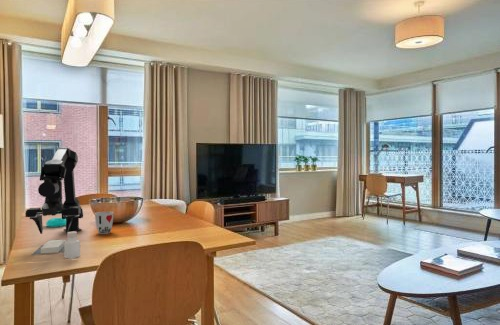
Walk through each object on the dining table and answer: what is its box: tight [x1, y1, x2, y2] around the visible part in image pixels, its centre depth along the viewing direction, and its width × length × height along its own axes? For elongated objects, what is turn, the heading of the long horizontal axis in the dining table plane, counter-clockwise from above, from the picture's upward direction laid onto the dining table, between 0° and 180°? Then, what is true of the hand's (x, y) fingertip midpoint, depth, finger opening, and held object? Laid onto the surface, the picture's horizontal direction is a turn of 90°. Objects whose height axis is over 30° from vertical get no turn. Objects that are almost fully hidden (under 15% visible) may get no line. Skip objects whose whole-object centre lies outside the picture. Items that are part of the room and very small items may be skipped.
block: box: [40, 239, 66, 255], centre depth 139 cm, size 2×6×12 cm
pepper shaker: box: [64, 231, 81, 260], centre depth 129 cm, size 4×4×10 cm
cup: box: [94, 211, 114, 235], centre depth 168 cm, size 8×8×10 cm
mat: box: [31, 244, 65, 256], centre depth 140 cm, size 14×12×1 cm
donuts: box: [45, 211, 66, 228], centre depth 186 cm, size 10×10×10 cm
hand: (54, 233), depth 141 cm, fingers open, 9 cm apart
